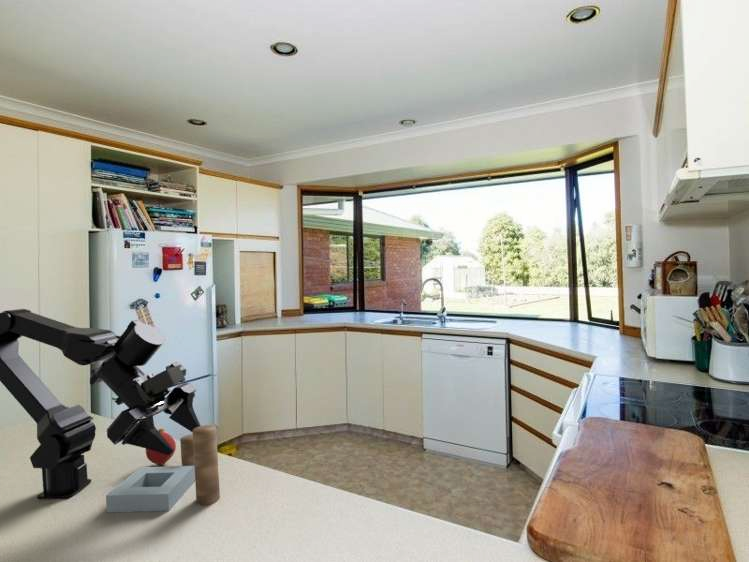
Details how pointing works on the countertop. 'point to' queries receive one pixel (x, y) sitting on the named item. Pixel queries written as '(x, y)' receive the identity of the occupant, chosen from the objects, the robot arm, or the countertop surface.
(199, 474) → the walnut peg long
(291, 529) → the countertop surface
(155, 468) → the collar block
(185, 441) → the walnut peg short
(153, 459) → the onion
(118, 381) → the robot arm
